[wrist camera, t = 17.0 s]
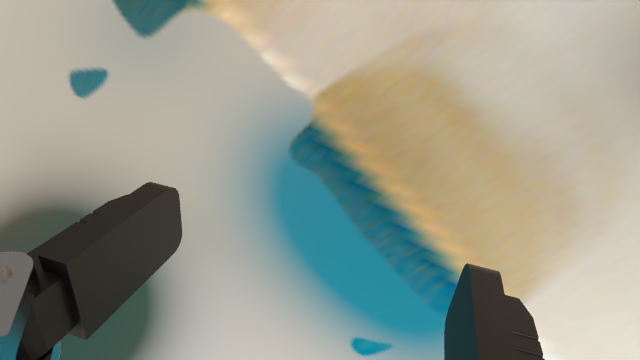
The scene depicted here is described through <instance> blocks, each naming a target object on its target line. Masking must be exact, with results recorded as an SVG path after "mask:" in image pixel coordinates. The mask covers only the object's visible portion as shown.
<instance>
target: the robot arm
mask: <svg viewBox="0 0 640 360" xmlns="http://www.w3.org/2000/svg"><path fill="white" fill-rule="evenodd" d="M181 238H182V225H181V213H180V201H179V194H178V191H177V190H176V189H175V188H172V187H168V186H164V185H160V184H156V183H152V182H149V183H146V184H144V185H143V186H141V187H140V188H138V189H137V190H135V191H134V192H132V193H131V194H129V195H125V196H122V197H119V198H117V199H114V200H111V201H108V202H107V203H105V204H104V205H102V206H101V207H99V208H98V209H96V210H94V211H93V213H92V214H88V215H87V216H85V217H84V218H82V219H80V222H76V223H74V224H73V225H71V226H70V227H68V228H67V229H65V230H63V231H62V232H60V233H59V234H57V235H56V236H54V237H53V238H51V239H50V240H48V241H46V242H45V243H43V244H41V245H40V246H39V247H37V248H35V249H34V250H32V251H31V252H29V253H27V254H24V253H21V252H2V253H0V360H59V356H60V351H61V346H60V342H59V341H60V340H61V339H62V338H63V337H64V336H65V335H66V334H67V333H69V334H72V335H74V336H77V337H80V338H83V339H86V340H87V339H88V338H89V337H90V336H91V335H92V334H93V333H94V332H95V331H96V330H97V329H98V328H99V327H100V326H101V325H102V324H103V323H104V322H105V321H106V320H107V319H108V318H109V317H110V316H111V315H112V314H113V313H114V312H115V311H116V310H117V309H118V308H119V307H120V306H121V305H122V304H123V303H124V302H125V301H126V300H127V299H128V298H129V297H130V296H131V295H132V294H133V293H134V292H135V291H136V290H137V289H138V288H139V287H140V286H142V285H143V284H144V283H145V282H146V280H148V279H149V277H150V276H151V275H153V274H154V273H155V271H157V270H158V269H159V268H160V267H161V266H162V265H163V264H164V263H165V262H166V261H167V260H168V259H169V258H170V257H171V255H173V254H174V253H175V251H176V250H177V248H178V246H179V244H180V242H181ZM444 335H445V336H444V350H445V360H544V359H543V352H542V349H541V345H540V342H539V341H538V334H537V330H536V327H535V323H534V319H533V317H532V316H531V314H530V313H529V312H528V310H527V309H526V308H525V306H524V305H523V303H522V302H521V301H520V299H518V298H514V297H511V296H507V295H505V294H504V289H503V284H502V279H501V275H500V273H499V271H495V270H491V269H487V268H483V267H479V266H475V265H471V264H468V263H467V264H466V265H465V266H464V268H463V270H462V273H461V276H460V279H459V281H458V284H457V287H456V289H455V292H454V295H453V298H452V300H451V303H450V306H449V309H448V312H447V316H446V322H445V332H444Z"/></svg>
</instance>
